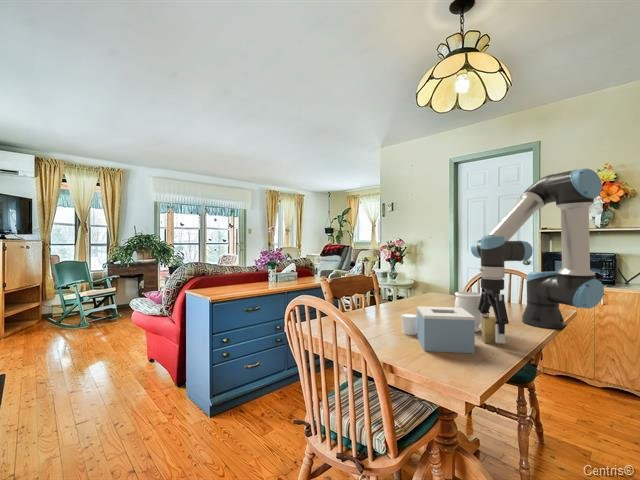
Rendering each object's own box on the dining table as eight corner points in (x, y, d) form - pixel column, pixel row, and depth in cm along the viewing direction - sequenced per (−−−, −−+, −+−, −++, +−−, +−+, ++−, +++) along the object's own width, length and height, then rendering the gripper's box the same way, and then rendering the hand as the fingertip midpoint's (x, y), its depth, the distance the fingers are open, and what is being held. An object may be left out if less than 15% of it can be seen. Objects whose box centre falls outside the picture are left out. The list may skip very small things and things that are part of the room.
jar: (476, 326, 134) (477, 291, 133) (487, 333, 123) (487, 295, 123) (451, 325, 135) (451, 290, 134) (459, 332, 124) (459, 295, 124)
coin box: (461, 339, 116) (461, 307, 116) (474, 353, 102) (474, 317, 102) (417, 337, 118) (417, 306, 118) (424, 350, 104) (424, 315, 104)
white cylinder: (419, 335, 120) (419, 317, 120) (401, 334, 122) (401, 317, 122) (417, 330, 127) (417, 313, 127) (400, 329, 129) (400, 312, 128)
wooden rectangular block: (499, 341, 114) (499, 317, 114) (502, 344, 111) (502, 319, 111) (481, 340, 115) (481, 316, 114) (484, 343, 112) (484, 318, 111)
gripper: (469, 273, 125) (469, 326, 125) (495, 282, 101) (495, 348, 101) (489, 274, 124) (489, 326, 124) (520, 283, 100) (520, 349, 100)
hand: (492, 336), depth 113 cm, fingers open, 13 cm apart
